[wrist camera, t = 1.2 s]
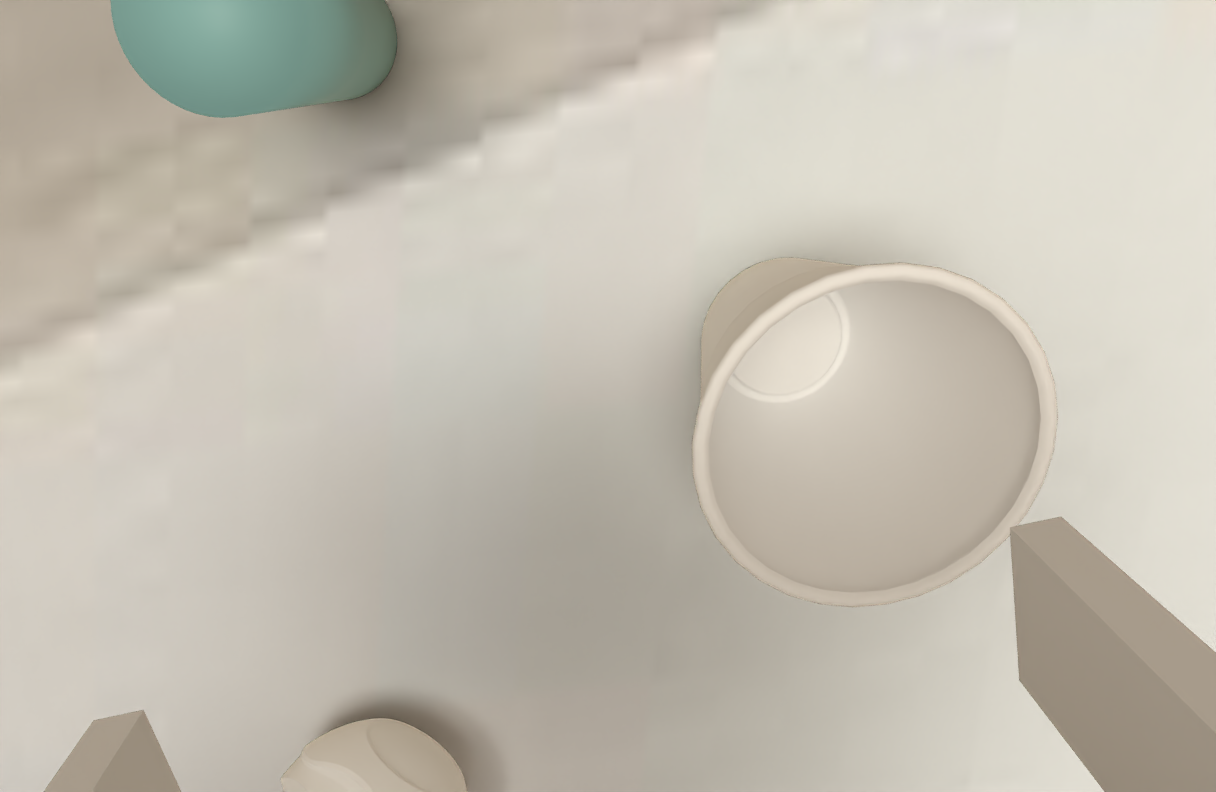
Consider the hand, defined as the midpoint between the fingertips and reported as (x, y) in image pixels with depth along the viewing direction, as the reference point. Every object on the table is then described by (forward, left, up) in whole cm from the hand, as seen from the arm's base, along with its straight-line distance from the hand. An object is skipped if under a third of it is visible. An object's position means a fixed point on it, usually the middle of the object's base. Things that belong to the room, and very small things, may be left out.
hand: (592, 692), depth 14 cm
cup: (+8, +1, -22) cm, 23 cm away
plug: (-9, +9, -22) cm, 25 cm away
